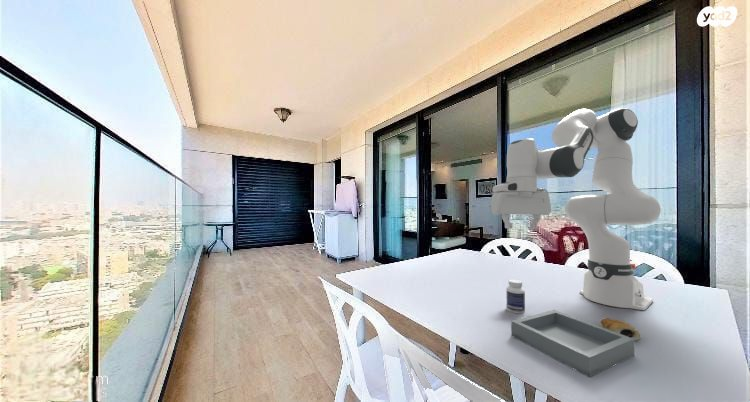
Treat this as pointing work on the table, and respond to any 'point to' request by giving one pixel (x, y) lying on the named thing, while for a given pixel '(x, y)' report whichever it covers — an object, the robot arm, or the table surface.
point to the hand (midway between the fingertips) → (521, 228)
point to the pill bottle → (515, 297)
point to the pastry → (620, 328)
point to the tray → (573, 341)
